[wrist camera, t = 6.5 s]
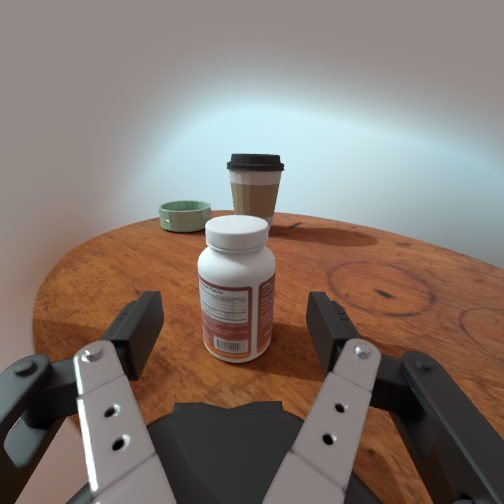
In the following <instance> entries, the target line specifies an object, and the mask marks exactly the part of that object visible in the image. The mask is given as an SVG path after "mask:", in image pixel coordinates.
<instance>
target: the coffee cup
mask: <svg viewBox="0 0 504 504" xmlns="http://www.w3.org/2000/svg"><path fill="white" fill-rule="evenodd" d="M227 169H229V173H230V181H231V189H232V196H233V205H234V212H235V215H244V216H253V217H258V218H261V219H263V220H265V221H267V223H268V226H269V228H268V232H269V231H270V227H271V226H272V220H273V215H274V209H275V204H276V199H277V193H278V188H279V183H280V178H281V172H282V171H283V170H284V164H283V163H280V156H279V155H269V154H232V156H231V162H228V163H227Z"/></svg>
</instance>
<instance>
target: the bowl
mask: <svg viewBox="0 0 504 504" xmlns="http://www.w3.org/2000/svg"><path fill="white" fill-rule="evenodd" d="M158 210H159V218H160V225H161V227H162V228H164V229H166V230H170V231H174V232H193V231H198V230H202V229H204V228H205V225H206V223H207V222H208V221H209V220H211V205H210V204H209V203H206V202H202V201H173V202H167V203H164V204H161V205H159V206H158Z"/></svg>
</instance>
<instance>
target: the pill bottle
mask: <svg viewBox="0 0 504 504" xmlns="http://www.w3.org/2000/svg"><path fill="white" fill-rule="evenodd" d="M205 228H206V243H207V245H208V246H209V247H207V248H206V249H205V250H204V251H203V252H202V253H201V255H200V257H199V260H198V276H199V287H200V300H201V313H202V325H203V337H204V342H205V345H206V347H207V349H208V350H209V352H210V353H211V354H212V355H214V356H215V357H217V358H219V359H221V360H223V361H227V362H232V363H242V362H247V361H250V360H252V359H255V358H256V357H258V356H260V355H261V354H262V353H263V352H264V351H265V350H266V349H267V347H268V346H269V344H270V341H271V334H272V320H273V303H274V287H275V272H276V262H275V257H274V255H273V253H272V252H271V251H270V250H269V249H268V248H267V247H266V246H265V245H266V244H267V241H268V238H269V236H268V228H269V226H268V223H267V221H265V220H263V219H261V218H258V217H253V216H244V215H230V216H221V217H217V218H214V219H211V220H209V221H208V222H207V223H206V225H205Z"/></svg>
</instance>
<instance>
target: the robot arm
mask: <svg viewBox="0 0 504 504" xmlns="http://www.w3.org/2000/svg"><path fill="white" fill-rule="evenodd" d="M163 323H164V313H163V306H162V299H161V294H160V292H159V291H144V292H143V293H142V294H141V296H140V297H139V299H138V300H137V301H132V302H130V303H129V304H127V305H126V306H125V307H124V308H123V309H122V310H121V312H120V313H119V315H118V316H117V317H116V318H115V321H113V322H112V324H111V325H110V326H109V328H108V329H107V330H106V332H105V333H104V334H103V336H102V337H101V339H100V340H99V341H96V342H93V343H90V344H88V345H86V346H84V347H83V348H81V349H80V350H79V351H78V352H77V353H76V354H75V356H74V357H73V358H69V359H65V360H61V361H57V362H53V363H51V362H50V359H49V357H48V356H47V355H44V354H36V355H31V356H28V357H25V358H23V359H20V360H18V361H17V362H15V363H14V364H12V365H10V366H9V367H8V368H7V369H6V370H4V372H3V373H2V374H1V375H0V504H15V502H16V500H17V499H18V497H19V495H20V494H21V492H22V490H23V489H24V487H25V485H26V484H27V482H28V480H29V479H30V477H31V475H32V474H33V472H34V470H35V469H36V467H37V465H38V464H39V462H40V460H41V459H42V457H43V455H44V453H45V452H46V450H47V449H48V447H49V445H50V443H51V442H52V440H53V438H54V437H55V435H56V433H57V432H58V430H59V428H60V427H61V425H62V423H63V422H64V420H65V418H66V417H67V416H70V415H74V414H77V413H78V414H79V420H80V427H81V433H82V440H83V445H84V452H85V459H86V466H87V472H88V479H89V481H88V482H87V484H86V485H84V486H83V487H82V488H81V489H80V490H79V491H78V492H77V493H76V494H75V495H74V496H73V497H72V498H71V499H70V500H69V501H68V502H67V503H66V504H384V503H383V502H382V501H381V500H380V499H379V498H378V497H377V496H376V495H375V494H374V492H373V491H372V490H371V489H370V488H369V487H368V486H367V485H366V484H365V483H364V482H363V481H362V480H361V479H360V478H359V476H358V475H357V474H356V473H355V472H354V471H353V470H352V467H353V463H354V459H355V456H356V452H357V448H358V444H359V441H360V437H361V433H362V429H363V426H364V422H365V418H366V414H367V411H368V407H369V406H372V407H375V408H379V409H382V410H385V411H388V412H389V414H390V416H391V418H392V420H393V422H394V424H395V426H396V428H397V430H398V432H399V434H400V436H401V438H402V440H403V442H404V444H405V446H406V449H407V451H408V453H409V455H410V457H411V459H412V461H413V463H414V465H415V467H416V469H417V471H418V473H419V475H420V477H421V479H422V481H423V483H424V485H425V487H426V489H427V491H428V493H429V495H430V497H431V499H432V501H433V504H504V440H503V439H502V438H501V437H500V435H499V434H498V433H497V432H496V431H495V429H494V428H493V427H492V426H491V425H490V423H489V422H488V421H487V420H486V419H485V417H484V416H483V415H482V414H481V413H480V412H479V410H478V409H477V408H476V407H475V406H474V404H473V403H472V402H471V401H470V400H469V398H468V397H467V396H466V395H465V394H464V392H463V391H462V390H461V389H460V388H459V386H458V385H457V384H456V383H455V382H454V380H453V379H452V378H451V377H450V376H449V374H448V373H447V372H446V371H445V370H444V369H443V367H442V366H441V365H440V364H439V363H438V362H437V361H436V360H434V359H433V358H431V357H430V356H428V355H426V354H423V353H420V352H415V351H409V352H406V353H405V354H404V355H403V358H402V359H398V358H394V357H390V356H386V355H382V354H380V351H379V350H378V349H377V348H376V347H375V346H374V345H373V344H371V343H370V342H368V341H365V340H363V339H362V338H361V336H360V335H359V333H358V331H357V330H356V328H355V327H354V325H353V323H352V322H351V320H350V319H349V317H348V315H346V312H345V310H344V309H343V307H342V306H341V305H339V304H338V303H337V302H336V301H330V300H329V298H328V297H327V295H326V293H325V292H310V293H309V298H308V306H307V313H306V323H307V327H308V330H309V333H310V336H311V338H312V341H313V344H314V347H315V350H316V352H317V355H318V358H319V361H320V364H321V366H322V369H323V372H324V375H325V378H326V379H325V381H324V383H323V385H322V387H321V389H320V391H319V393H318V395H317V397H316V399H315V401H314V403H313V405H312V407H311V410H310V412H309V414H308V416H307V418H306V420H305V421H304V420H303V419H302V418H300V417H298V416H296V415H295V414H292V413H290V412H287V411H284V410H283V407H282V401H261V402H252V403H249V404H245V405H242V406H238V407H235V408H231V409H225V408H221V407H217V406H213V405H209V404H205V403H175V405H174V409H173V413H170V414H167V415H164V416H162V417H160V418H158V419H156V420H154V421H153V422H151V423H150V424H148V425H147V426H146V425H145V423H144V420H143V418H142V415H141V412H140V410H139V407H138V405H137V402H136V399H135V397H134V394H133V392H132V389H131V386H130V384H129V381H138V380H139V378H140V375H141V373H142V371H143V369H144V367H145V364H146V362H147V360H148V358H149V356H150V353H151V351H152V349H153V347H154V344H155V342H156V340H157V338H158V336H159V333H160V331H161V329H162V327H163ZM20 416H21V419H20V420H19V421H18V422H17V424H16V425H15V426H14V427H13V429H12V430H11V431H10V433H9V434H8V432H9V430H10V429H11V428H12V426H13V425H14V424H15V423H16V421H17V420H18V419H19V417H20ZM7 434H8V435H7ZM6 436H7V437H6Z"/></svg>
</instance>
